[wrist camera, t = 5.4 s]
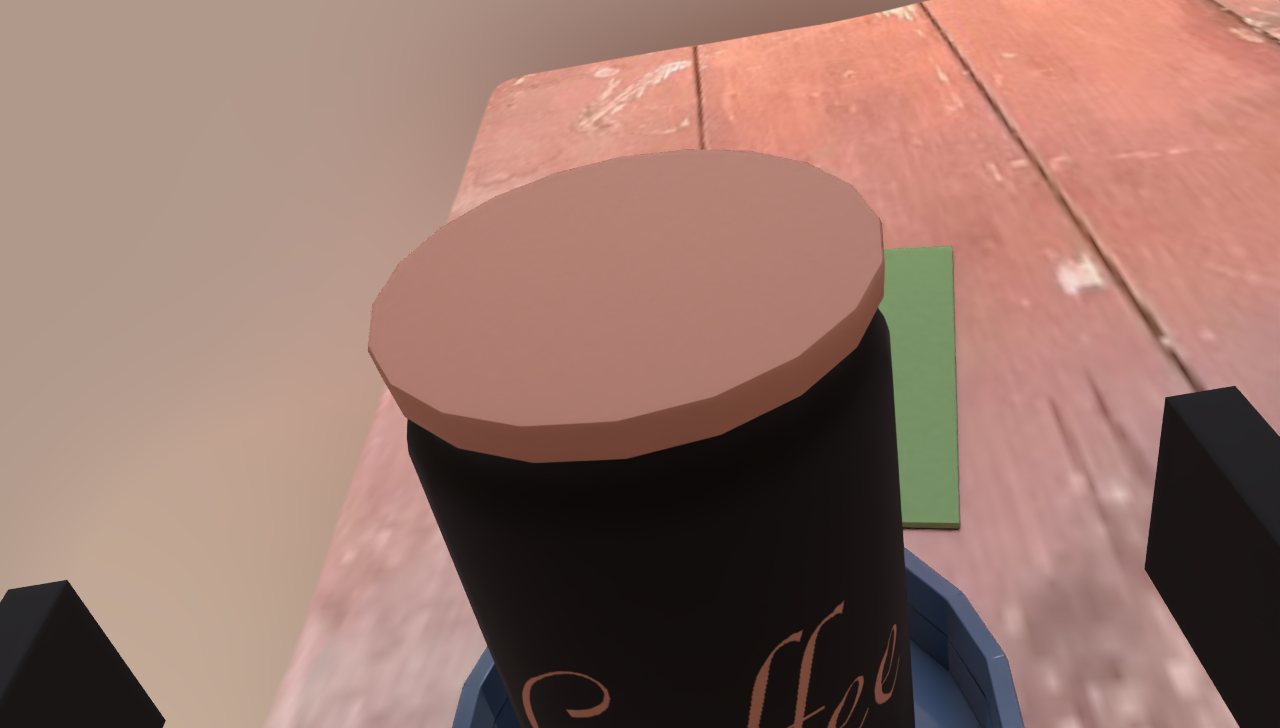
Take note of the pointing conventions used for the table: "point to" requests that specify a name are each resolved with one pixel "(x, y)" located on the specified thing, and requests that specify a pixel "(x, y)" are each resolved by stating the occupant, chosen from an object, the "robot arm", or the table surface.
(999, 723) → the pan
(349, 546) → the table surface
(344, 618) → the table surface
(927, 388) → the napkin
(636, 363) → the coffee jar
